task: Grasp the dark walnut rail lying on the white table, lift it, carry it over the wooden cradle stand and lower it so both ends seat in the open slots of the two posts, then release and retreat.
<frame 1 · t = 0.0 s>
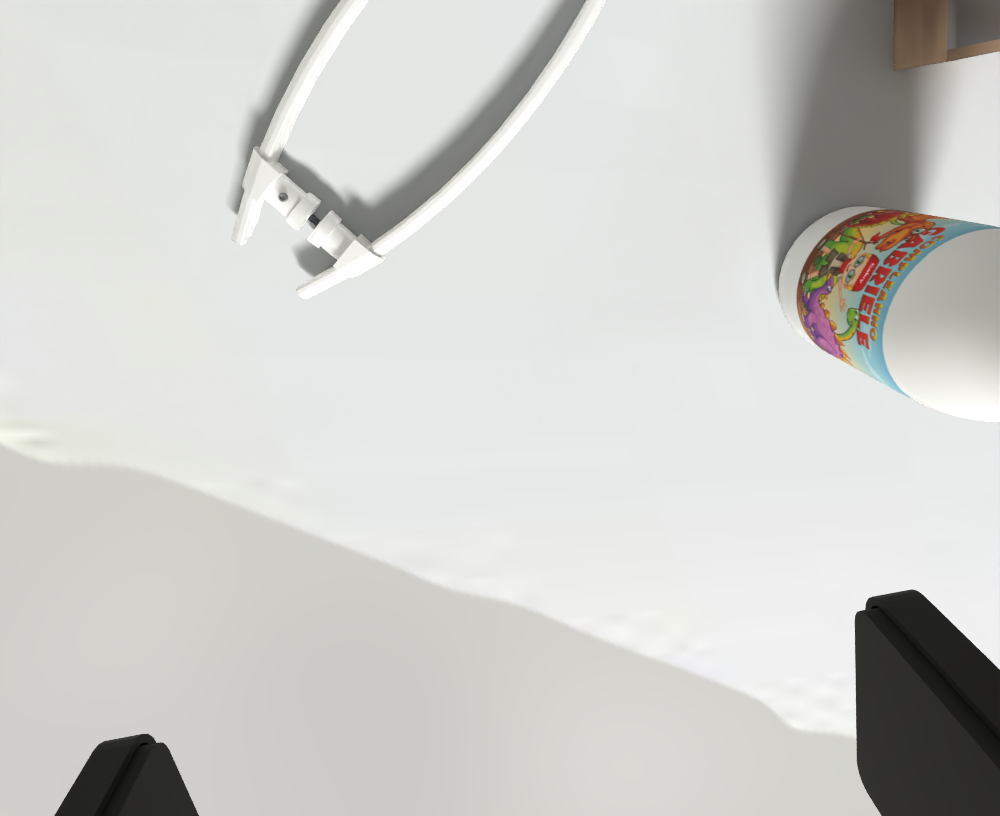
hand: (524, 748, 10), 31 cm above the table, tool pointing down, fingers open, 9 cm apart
milk bottle: (841, 276, 40), on the table
door handle: (431, 74, 36), on the table
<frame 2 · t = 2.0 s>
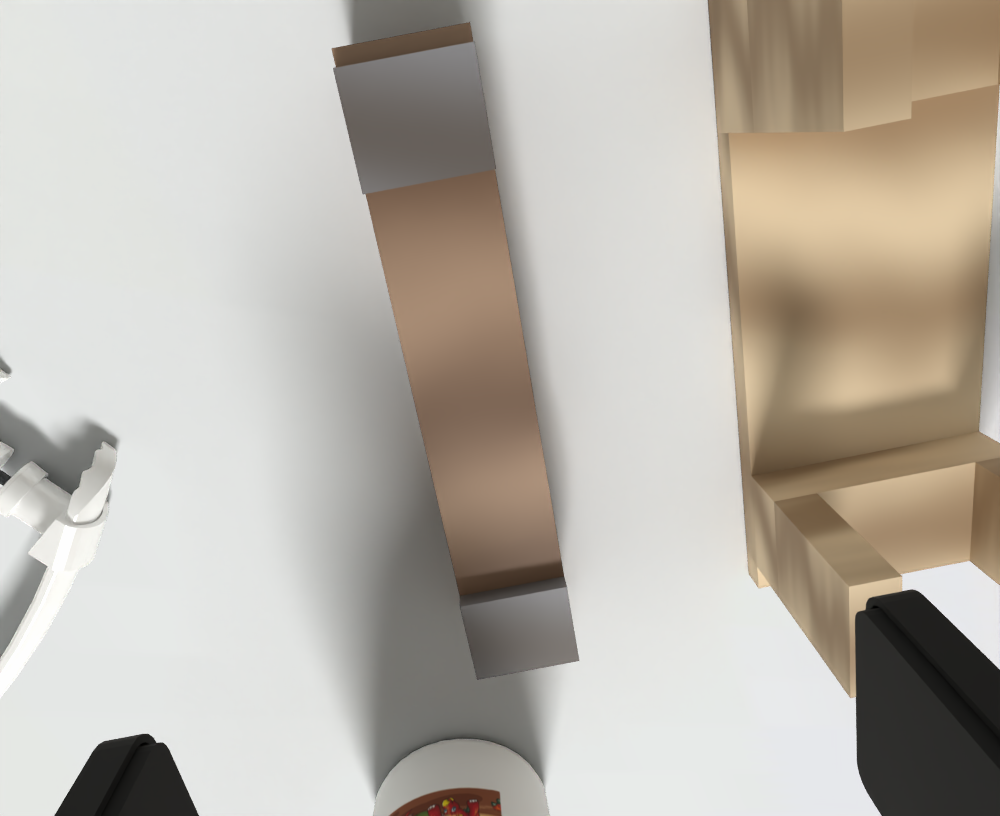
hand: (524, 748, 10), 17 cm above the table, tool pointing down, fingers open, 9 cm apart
milk bottle: (461, 794, 33), on the table
rail: (471, 361, 26), on the table
wooden cradle stand: (849, 289, 25), on the table
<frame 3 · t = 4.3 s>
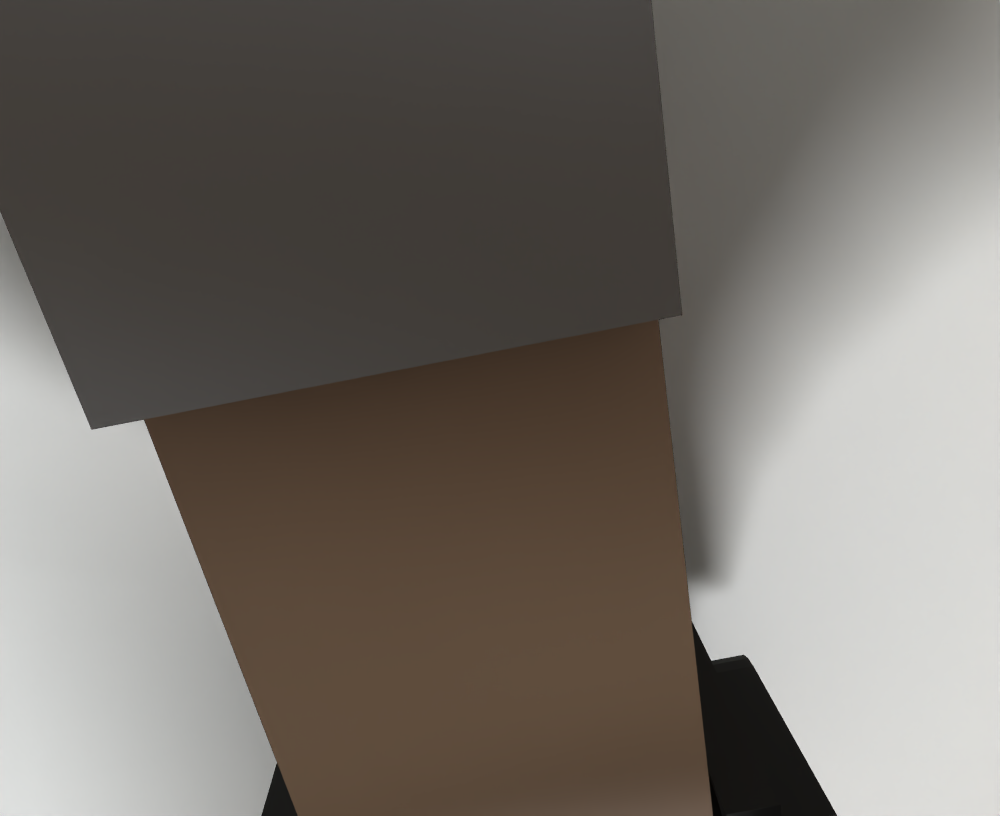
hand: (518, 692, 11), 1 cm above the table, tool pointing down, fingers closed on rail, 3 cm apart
rail: (515, 665, 11), on the table, touching gripper
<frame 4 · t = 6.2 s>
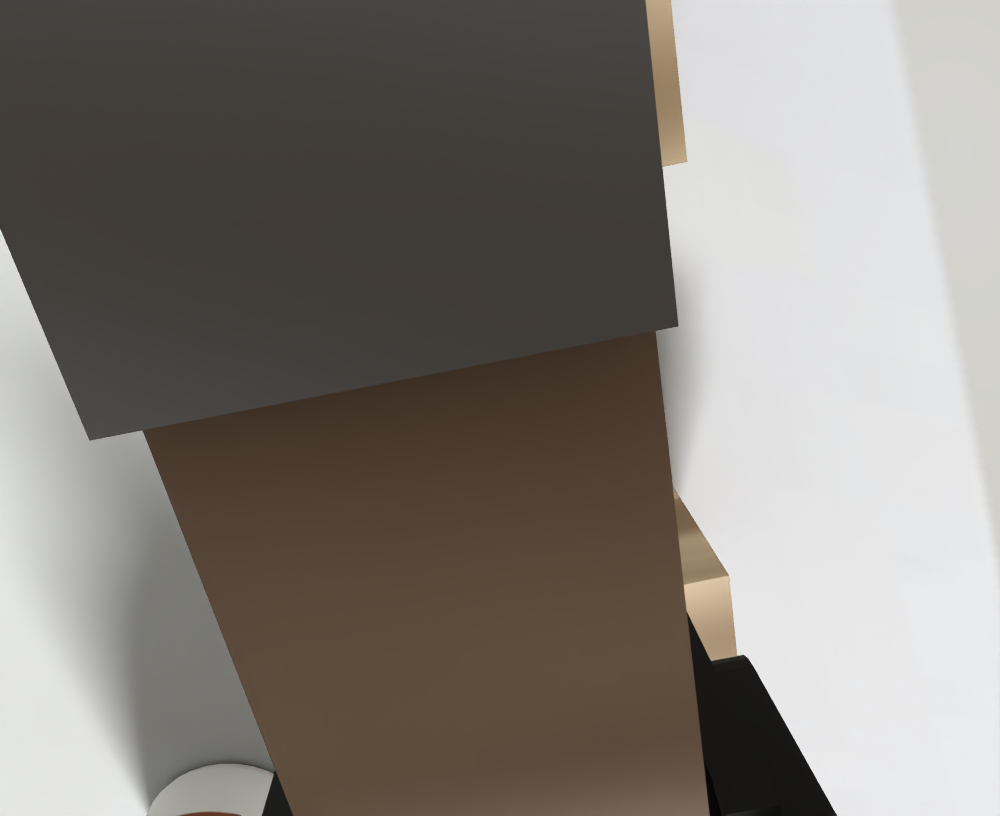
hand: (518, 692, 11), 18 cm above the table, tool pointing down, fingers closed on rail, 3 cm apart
milk bottle: (235, 815, 35), on the table
rail: (514, 669, 11), point 17 cm above the table, touching gripper
wooden cradle stand: (528, 344, 27), on the table
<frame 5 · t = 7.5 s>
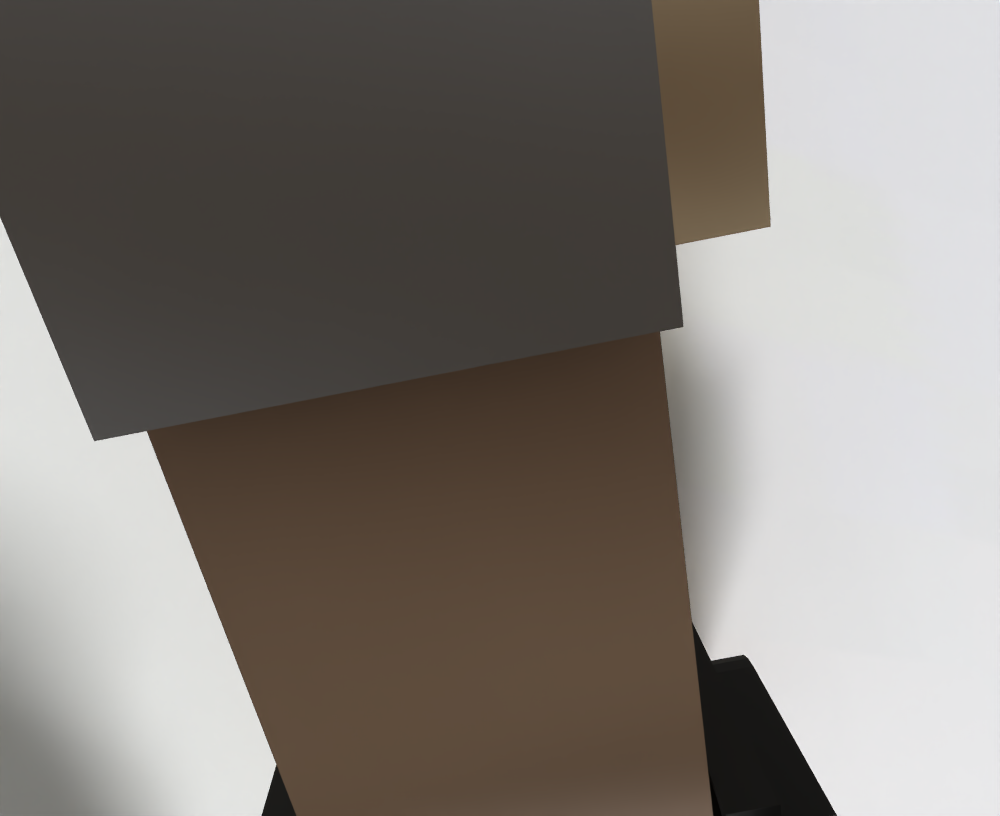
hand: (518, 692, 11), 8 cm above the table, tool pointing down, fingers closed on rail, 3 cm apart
rail: (516, 669, 11), point 8 cm above the table, touching gripper
wooden cradle stand: (493, 459, 19), on the table
when the fingers open (4 cm above the table, at t = 8.6 s): rail stays where it is, resting on wooden cradle stand.
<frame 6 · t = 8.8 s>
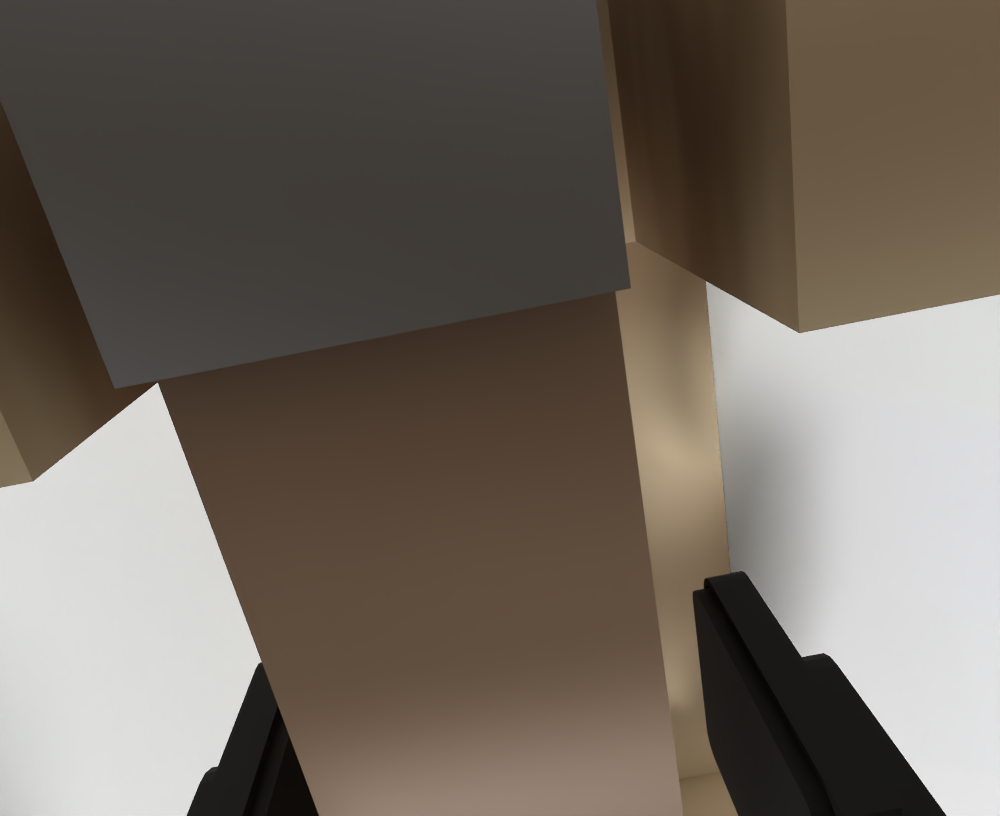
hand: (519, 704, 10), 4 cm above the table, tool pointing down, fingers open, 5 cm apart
rail: (503, 638, 12), point 3 cm above the table, touching wooden cradle stand
wooden cradle stand: (503, 544, 15), on the table
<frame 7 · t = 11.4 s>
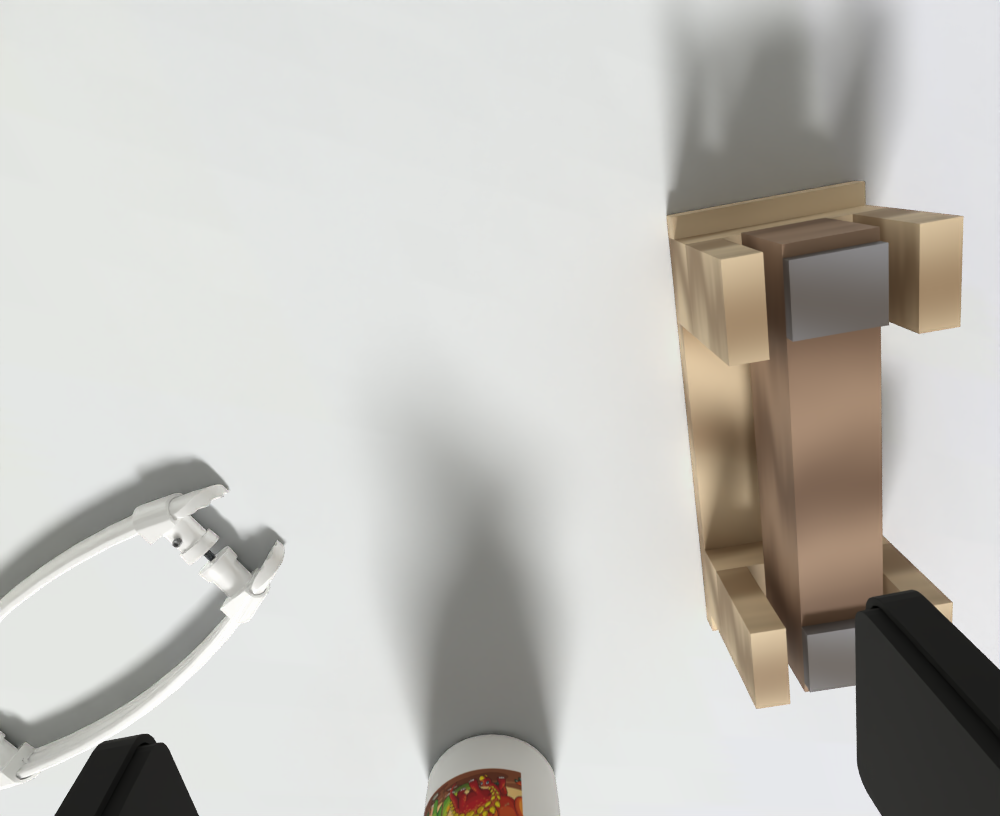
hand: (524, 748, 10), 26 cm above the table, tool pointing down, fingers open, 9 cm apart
milk bottle: (492, 777, 44), on the table
rail: (794, 444, 33), point 3 cm above the table, touching wooden cradle stand
door handle: (97, 634, 41), on the table
wooden cradle stand: (773, 422, 36), on the table
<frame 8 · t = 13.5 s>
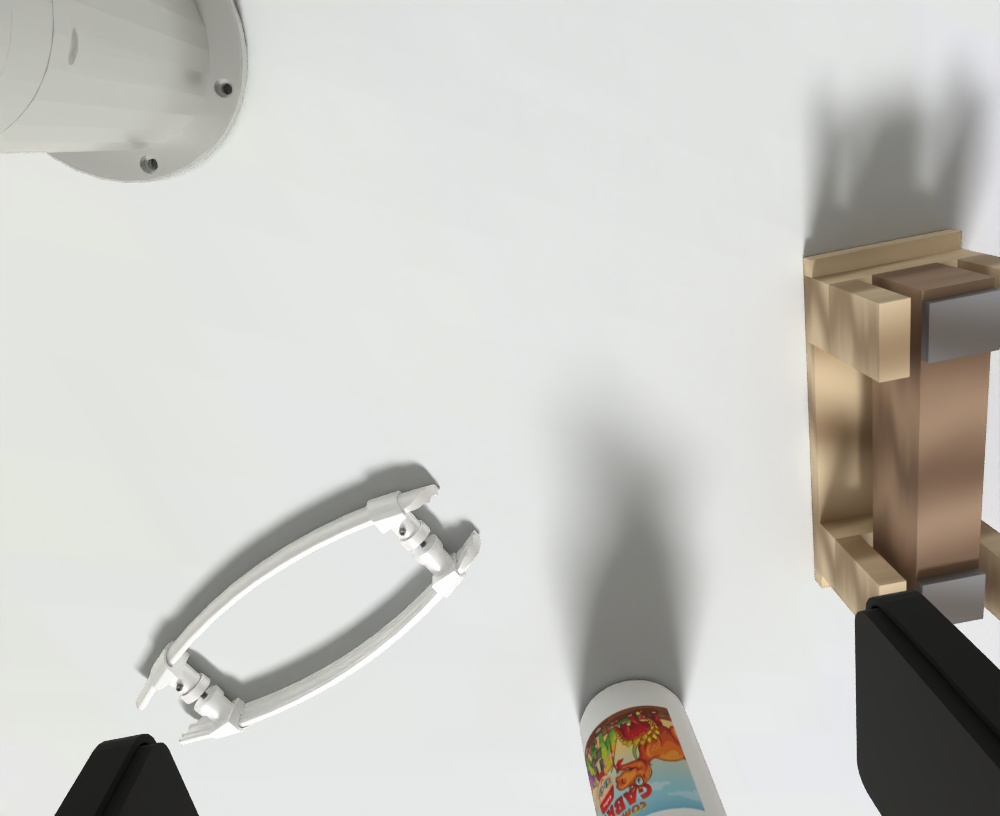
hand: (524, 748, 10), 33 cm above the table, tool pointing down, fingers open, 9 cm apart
milk bottle: (630, 716, 53), on the table
rail: (902, 437, 42), point 3 cm above the table, touching wooden cradle stand
door handle: (308, 607, 48), on the table
wooden cradle stand: (876, 419, 45), on the table
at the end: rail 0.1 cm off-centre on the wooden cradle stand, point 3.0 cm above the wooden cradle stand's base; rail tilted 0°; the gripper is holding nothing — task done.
